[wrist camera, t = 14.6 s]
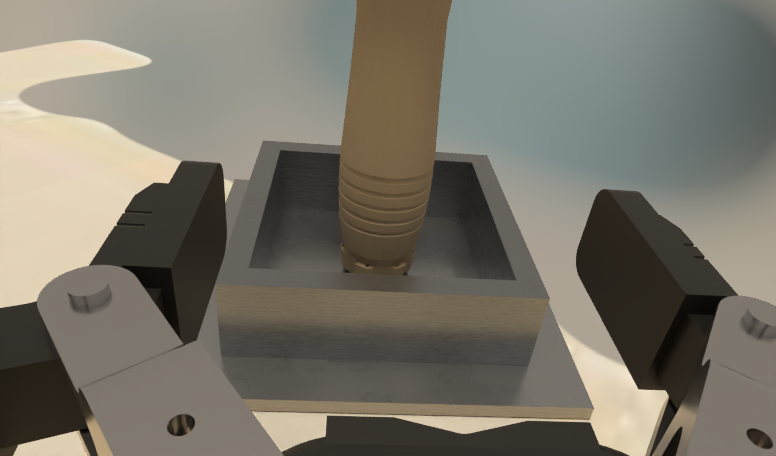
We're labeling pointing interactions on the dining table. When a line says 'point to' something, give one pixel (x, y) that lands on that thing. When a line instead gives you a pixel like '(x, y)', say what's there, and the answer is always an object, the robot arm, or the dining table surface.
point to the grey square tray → (384, 302)
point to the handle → (390, 131)
